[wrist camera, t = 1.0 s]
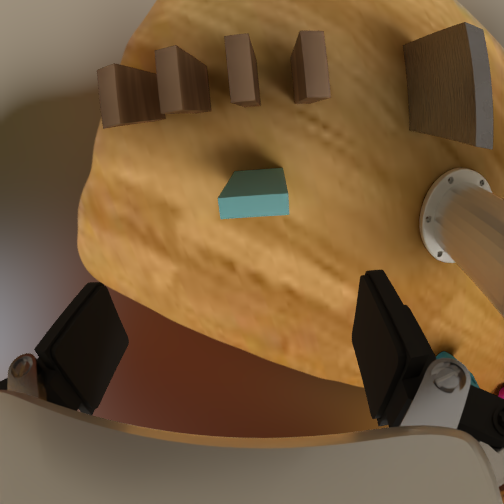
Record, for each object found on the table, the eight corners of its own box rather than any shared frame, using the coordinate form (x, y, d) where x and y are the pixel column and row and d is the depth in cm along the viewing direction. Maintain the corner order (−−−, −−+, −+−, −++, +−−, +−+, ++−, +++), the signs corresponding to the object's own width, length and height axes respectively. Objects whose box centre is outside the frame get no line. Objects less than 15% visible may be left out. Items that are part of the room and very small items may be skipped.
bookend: (418, 48, 21) (482, 29, 10) (424, 132, 25) (492, 149, 14) (403, 45, 21) (464, 22, 10) (409, 130, 25) (475, 146, 15)
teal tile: (234, 171, 29) (217, 198, 20) (282, 167, 29) (288, 193, 20) (236, 185, 30) (220, 219, 21) (283, 182, 29) (289, 214, 20)
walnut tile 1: (160, 75, 24) (114, 63, 16) (165, 118, 27) (120, 123, 18) (147, 79, 25) (97, 69, 16) (152, 121, 27) (103, 128, 18)
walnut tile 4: (306, 57, 23) (323, 31, 14) (310, 103, 25) (330, 97, 16) (290, 58, 23) (299, 30, 14) (294, 103, 25) (307, 97, 17)
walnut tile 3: (256, 60, 24) (248, 33, 15) (260, 105, 26) (255, 100, 17) (240, 61, 24) (224, 36, 15) (244, 107, 26) (230, 102, 17)
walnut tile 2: (206, 66, 24) (175, 45, 15) (211, 111, 26) (182, 109, 17) (191, 68, 24) (154, 50, 15) (196, 113, 26) (161, 113, 18)
